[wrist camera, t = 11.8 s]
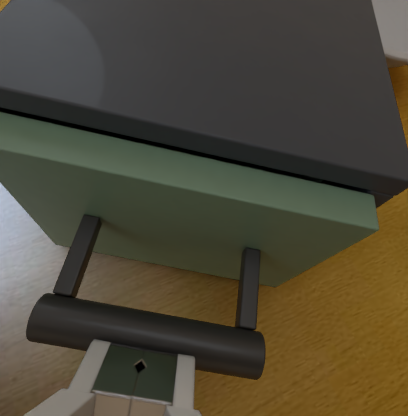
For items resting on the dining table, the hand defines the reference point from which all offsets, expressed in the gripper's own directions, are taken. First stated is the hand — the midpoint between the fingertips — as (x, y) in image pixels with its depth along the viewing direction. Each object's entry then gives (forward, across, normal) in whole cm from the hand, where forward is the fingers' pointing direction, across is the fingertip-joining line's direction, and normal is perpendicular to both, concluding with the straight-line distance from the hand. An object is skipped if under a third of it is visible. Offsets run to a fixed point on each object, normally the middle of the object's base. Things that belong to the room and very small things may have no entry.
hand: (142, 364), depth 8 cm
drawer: (+10, 0, -3) cm, 10 cm away
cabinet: (+13, 0, -5) cm, 14 cm away
